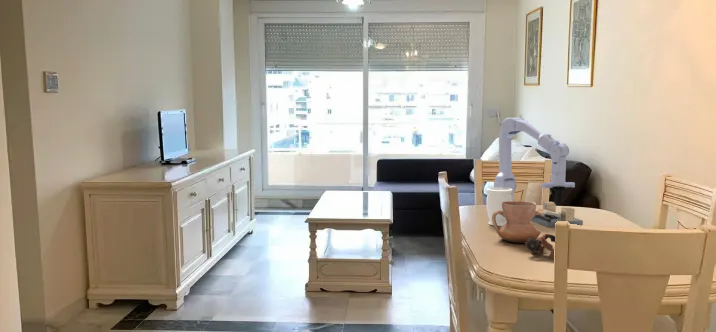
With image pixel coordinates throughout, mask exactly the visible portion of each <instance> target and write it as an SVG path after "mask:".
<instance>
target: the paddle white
mask: <svg viewBox="0 0 716 332" xmlns="http://www.w3.org/2000/svg"><path fill="white" fill-rule="evenodd" d="M542 212H543V213H545V214H548V216H550V217H553V218H554V216H557V217H561V214H558V213H559V212H556V213H554V212H550V211H546V210H543V211H542Z"/></svg>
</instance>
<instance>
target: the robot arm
mask: <svg viewBox="0 0 716 332" xmlns="http://www.w3.org/2000/svg"><path fill="white" fill-rule="evenodd" d="M500 125H501V127H500V130H499V133H498V170H499V171H498V173H497V175H496V176H495V177H494V178H495V179H494V182H493V187H502V188H510V189H512V192H511V196H512V201H514V193H515V190H517V182H516V175H514V173H513V172H512V169H513V168H512V167H513V166H512V138H513V137H514V136H515V135H517V134H518V133H521V132H524V133H525V134H527V135H528V136H530V137H532V138H533V139H535V140H536V141H537V144H538V145H539V146H540V147H541V148H543V149H544V150H545V151H546V152H548V154H549V156H550V160H551V161H550V162H551V166H550V167H551V169H550V170H551V173H550V174H551V175H550V181H549V182H542V183H541V184H540V187H541V189H549V191H550V193H551V195H552V198H553V202H554V203H555V204H556V206H559V205H561V202H562V199H563V196H564V195H565V193H566V192H567V188H575V187H576V186H575V185H576V183H575V182H573V181H572V182H571V181H570V182H569V181H568V182H567V181H566V174H567V173H566V171H567V164H566V163H567V156H569V154H570V148H569V146H568V145H567V144H566V143H560V141H559V140H556V139H555V138H553V137H552V135H551V133H542V132H540V130H538V129H537V128H536V127H535V126H533V125H532V124H531V123H529V121H528V120H527V119H525V118H523V117H521V116H520V117H519V116H518V117H505V119H503V120H502V121H501V123H500Z"/></svg>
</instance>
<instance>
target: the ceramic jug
mask: <svg viewBox="0 0 716 332" xmlns="http://www.w3.org/2000/svg"><path fill="white" fill-rule="evenodd" d="M536 208H537V203H536V202H534V201H530V200H528V201H526V200H516V201H515V200H513V201H505V202H502V209H503V211H500V210H497V211H495V212H494V213H493V214H492V222H493V225H494V226H493V225H492V226H493V227H494V229H495V230H496V233H497V235H498V236H499V237H500V238H501V239H502V240H504V241H506V242H510V243H515V244H516V243H517V244H526V241H527V240H528V239H530V238H533V239H537V238H539V237H540V235H541V232H542V231H541V230H539V229H538V228H537V227H536V226H534V225H533V224H532V223H531V222H532V221H531V220H532V218H533V217H534V216H535V215H538V214H540V215H542V214H543V212H542V211H538V210H536ZM497 214H500V215H502V216H503V217H505V218H506V220H507V223H506V224H505V225H503V226H497V223H496V215H497Z"/></svg>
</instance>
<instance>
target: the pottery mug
mask: <svg viewBox="0 0 716 332" xmlns="http://www.w3.org/2000/svg"><path fill="white" fill-rule="evenodd" d="M555 236H556V235H554V234H551V233H544V234H542V235H541V236H539V237H538V238H537V239H533V238H530V239H528V240H527V241H526V243H525V247H526V249H527V250H528V251H530V253H531V255H535V254H536V252H538V253H544V250H545V249H547V250H548V252H549V253H550V254H549V255H548V258H549V259H550V260H553V259H555V258H554V250H555V248H553V247H554V245H553V244H551V243H550V242H552V243H556V242H555ZM548 239H549V240H550V242H548V241H547V240H548ZM531 245H532V246H531Z"/></svg>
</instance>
